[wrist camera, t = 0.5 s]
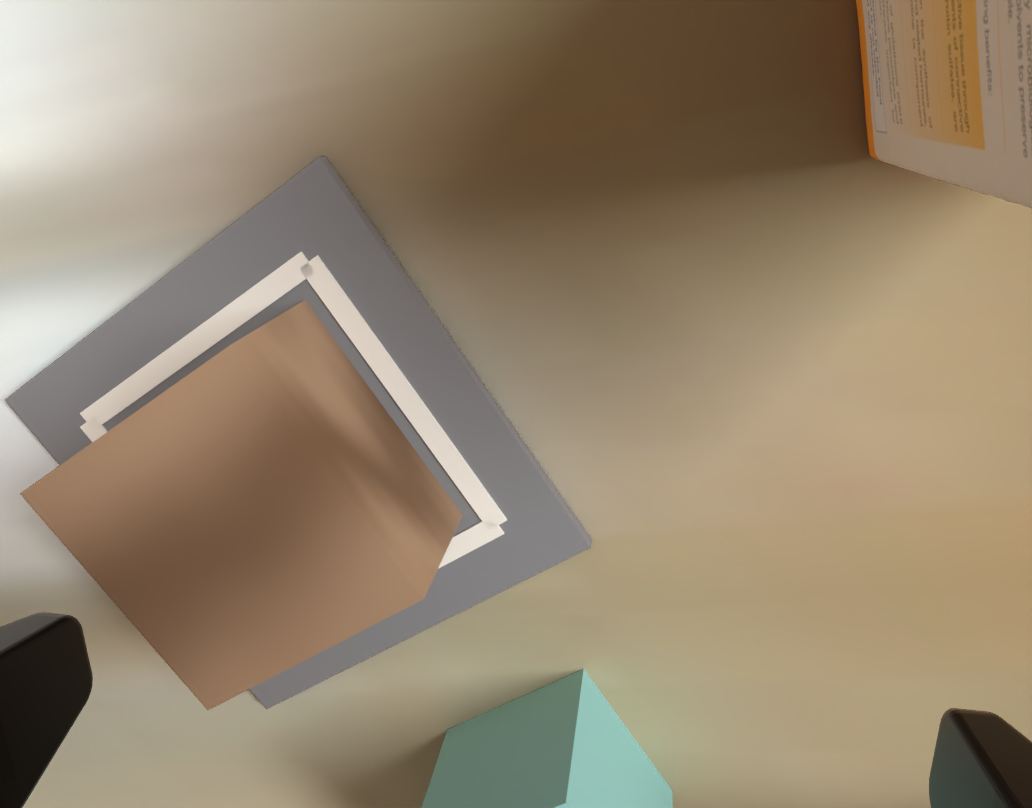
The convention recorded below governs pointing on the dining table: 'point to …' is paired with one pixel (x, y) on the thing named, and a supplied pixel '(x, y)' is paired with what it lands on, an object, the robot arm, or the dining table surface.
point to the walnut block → (254, 510)
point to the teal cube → (546, 756)
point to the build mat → (376, 356)
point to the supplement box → (951, 90)
